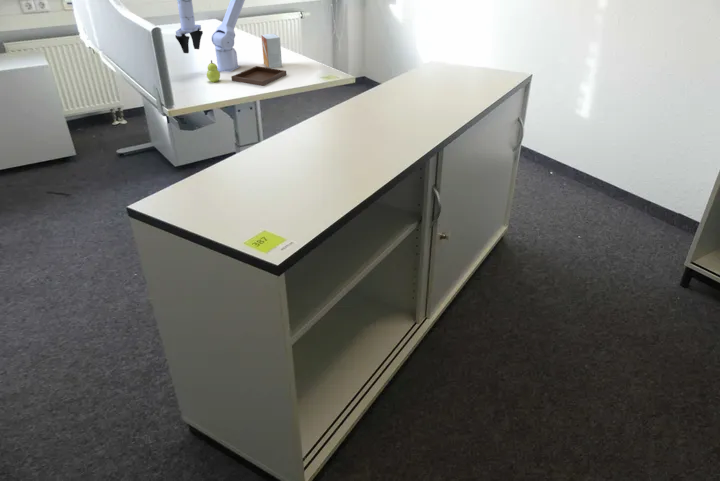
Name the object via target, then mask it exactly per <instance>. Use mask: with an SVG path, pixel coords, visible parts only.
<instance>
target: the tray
mask: <svg viewBox="0 0 720 481" xmlns="http://www.w3.org/2000/svg"><path fill="white" fill-rule="evenodd" d="M287 74H288V73H287V70H284V69H277V68H273V67H272V68H269V67H267V66H266V67H265V66H259V65H256V66H253V67H251V68H248V69H246V70H244V71H241V72H239V73H236V74H234V75H231V82H236V83H242V84H248V85H254V86H260V87H265V86H266V85H269V84H271V83H273V82H275V81H277V80H280V79H282V78H284V77H286V76H287Z"/></svg>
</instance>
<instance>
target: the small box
mask: <svg viewBox="0 0 720 481" xmlns="http://www.w3.org/2000/svg"><path fill="white" fill-rule="evenodd" d="M260 37H261V47H262V57H263V58H262V60H263V64H264V66H266V68H272V69H273V68H280V67H283V61H282V47H281V37H280V36H278V35H277V34H275V33H266V34H261V35H260Z"/></svg>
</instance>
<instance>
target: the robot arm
mask: <svg viewBox="0 0 720 481" xmlns="http://www.w3.org/2000/svg"><path fill="white" fill-rule="evenodd" d="M176 1H177V10H178V17H179V23H180V28H179V29H177V30H175V39H176V41H177V42H178V44H179V45H180V47H181V51H182V53H183V54H189V53H190V47H189V41H190V38H191V41H192V46H193V49H194V50H200V46H201V39H202V36H203V33H204V32H203V30H202V26H201V24H196V21H195V13H194V6H193V5H194V4H193V0H176ZM245 1H246V0H229V3H228V6H227V8H226V11H225V13H224V16H223V19H222V22H221V24H220V25H218V26H217V27H216V30H215V31H214V32H213V33H212V35H211V42H212V44H213V45H214V50H215V57H216V66H217V70H218V71H219V73H220V72H221V73H222V72H227V73H231V72H233V71H235V70H236V69H238V68H240V67H241V65H239V63H238V54H237V50H236V49H235V48H234V46H235V37H236V32H235V27H236V25H237V22H238V20H239V17H240V14H241V11H242V9H243V7H244V4H245ZM188 35H189V36H188Z"/></svg>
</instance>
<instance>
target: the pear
mask: <svg viewBox="0 0 720 481" xmlns="http://www.w3.org/2000/svg"><path fill="white" fill-rule="evenodd" d="M217 68H218V65H217V63H216V64H215V63H213V60H212V59H211V60H210V63H209V64H208V65H207V71H206V78H207V79H208V81H209V82H210V83H218V82H219V80H220V78H221V73H220V71H218V70H217Z"/></svg>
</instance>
